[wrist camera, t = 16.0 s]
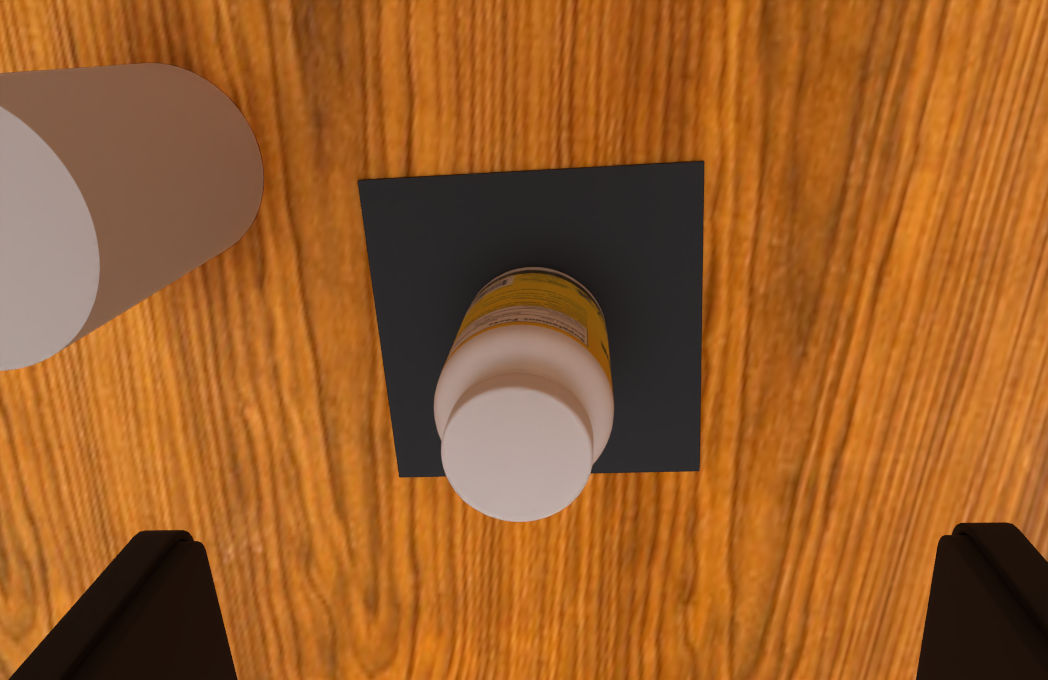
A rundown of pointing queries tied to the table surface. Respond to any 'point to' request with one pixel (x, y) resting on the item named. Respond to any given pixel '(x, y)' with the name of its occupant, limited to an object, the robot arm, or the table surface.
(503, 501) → the pill bottle
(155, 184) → the grey upright cylinder
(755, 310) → the table surface
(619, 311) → the mat
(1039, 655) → the robot arm
